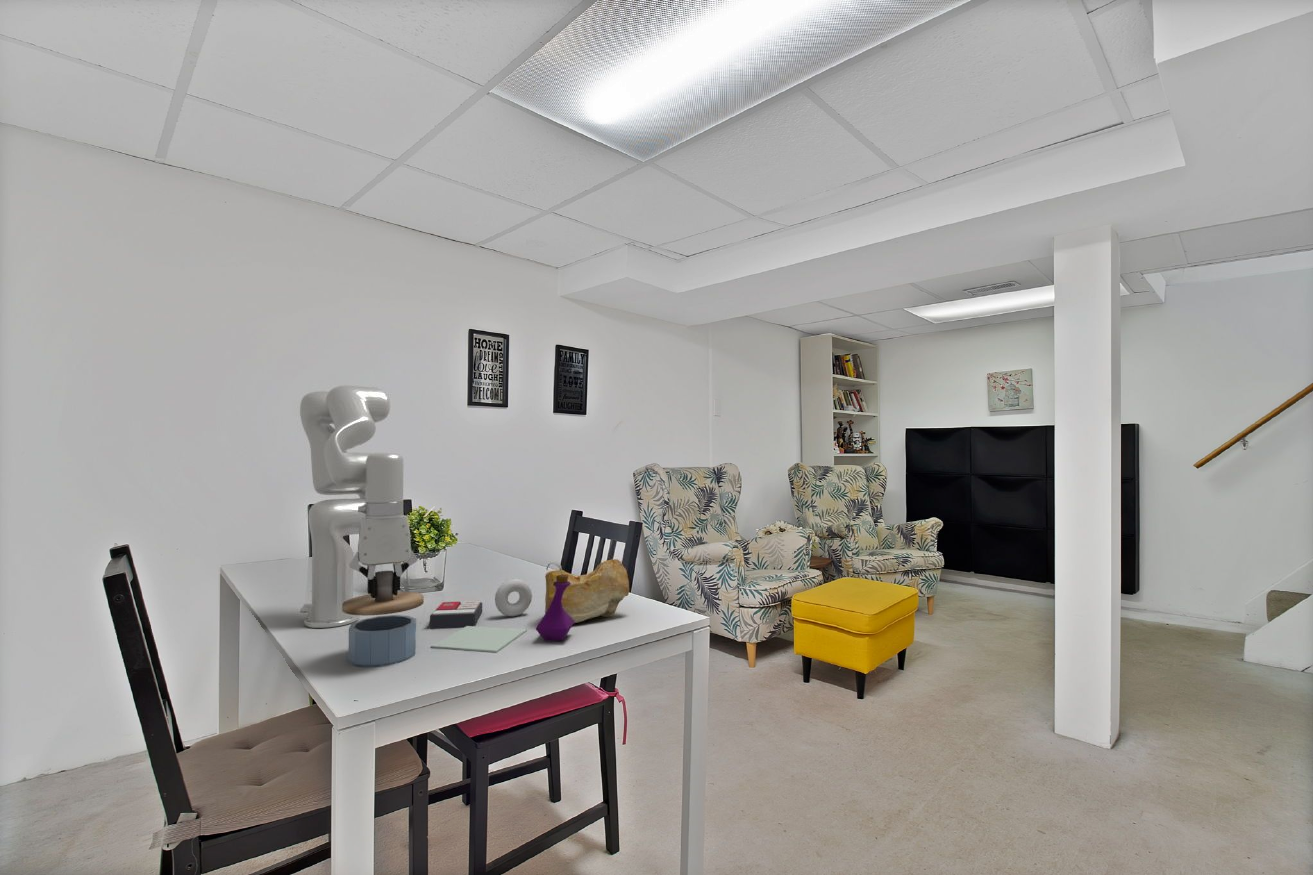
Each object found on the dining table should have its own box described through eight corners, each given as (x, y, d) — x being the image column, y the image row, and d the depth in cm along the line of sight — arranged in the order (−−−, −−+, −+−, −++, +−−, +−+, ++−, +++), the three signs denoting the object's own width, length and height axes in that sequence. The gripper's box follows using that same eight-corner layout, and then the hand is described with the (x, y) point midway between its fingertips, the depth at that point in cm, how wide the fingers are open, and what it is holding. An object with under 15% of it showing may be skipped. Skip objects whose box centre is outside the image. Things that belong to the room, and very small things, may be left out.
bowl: (335, 664, 125) (335, 630, 125) (376, 644, 138) (376, 613, 138) (390, 668, 123) (391, 634, 123) (427, 648, 135) (427, 616, 135)
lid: (324, 613, 124) (324, 578, 124) (375, 595, 140) (375, 564, 140) (393, 617, 121) (394, 580, 121) (438, 598, 136) (438, 566, 137)
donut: (496, 620, 158) (496, 581, 158) (493, 617, 161) (493, 579, 161) (533, 615, 163) (533, 578, 163) (529, 612, 166) (529, 575, 166)
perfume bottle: (574, 634, 146) (574, 559, 146) (567, 643, 138) (567, 565, 139) (544, 633, 147) (544, 558, 147) (535, 642, 139) (535, 564, 139)
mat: (430, 647, 136) (430, 645, 136) (466, 627, 151) (466, 625, 151) (496, 652, 132) (496, 650, 132) (526, 631, 148) (526, 629, 148)
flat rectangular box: (482, 599, 167) (475, 610, 152) (482, 615, 167) (475, 627, 152) (441, 600, 165) (429, 612, 150) (440, 617, 165) (429, 629, 150)
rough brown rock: (611, 606, 175) (608, 554, 176) (636, 615, 160) (632, 558, 161) (532, 620, 164) (529, 564, 165) (551, 630, 149) (547, 569, 150)
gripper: (343, 513, 123) (343, 604, 123) (428, 509, 132) (428, 593, 132) (339, 511, 129) (338, 597, 129) (420, 507, 139) (420, 587, 138)
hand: (383, 594), depth 130 cm, fingers closed on lid, 3 cm apart
